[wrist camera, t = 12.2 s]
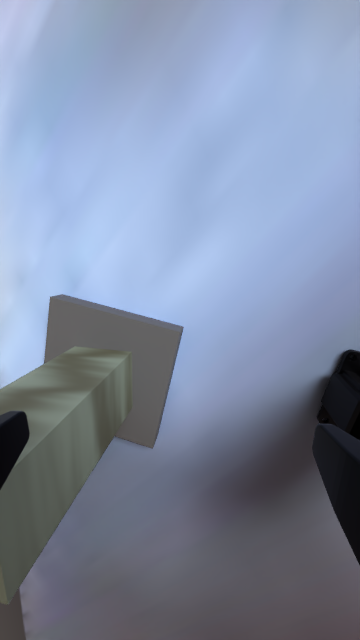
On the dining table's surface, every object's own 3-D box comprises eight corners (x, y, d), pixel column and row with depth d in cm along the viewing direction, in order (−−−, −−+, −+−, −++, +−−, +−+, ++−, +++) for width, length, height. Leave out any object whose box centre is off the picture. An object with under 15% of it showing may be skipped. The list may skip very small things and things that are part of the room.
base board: (183, 326, 21) (180, 332, 19) (157, 436, 24) (152, 448, 22) (62, 294, 22) (50, 296, 21) (51, 402, 25) (39, 411, 24)
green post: (131, 351, 21) (-13, 493, 8) (132, 407, 22) (7, 605, 9) (74, 346, 21) (-136, 467, 9) (78, 399, 23) (-104, 573, 10)
